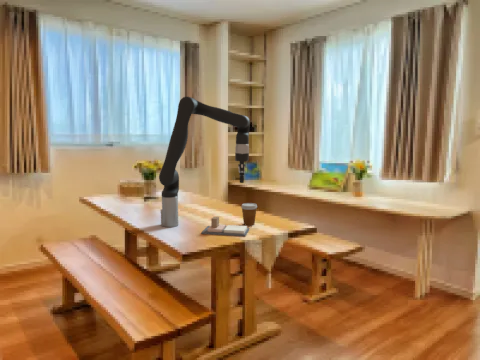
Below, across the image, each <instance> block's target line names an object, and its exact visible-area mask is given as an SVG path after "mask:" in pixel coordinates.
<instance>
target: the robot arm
mask: <svg viewBox="0 0 480 360" xmlns="http://www.w3.org/2000/svg"><path fill="white" fill-rule="evenodd" d="M192 115H198V116H203V117H206V118H208V119H209V118H210V119H212V120H214V121H215V122H219V123H222V124H226V125H230V126H233V127H235V128H237V133H236V135H235V147H234V149H235V150H234V153H235V155H234V160H235V162H239V163H238V165H237V166H238V167H237V168H238V173H239V184H244V183H245V173H246V164H245V162H249V160H250V146H249V143H250V141H249V140H250V137H249V135H250V127H251V122H250V118H249V116H246V115H243V114H240V113H236V112H232V111H230V110H226V109H224V108H221V107H220V108H219V107H216V106H213V105H209V104H205V103H203V102H201V101H199V100H197V99H196V98H194V97H191V96H183V97H182V98H181V99H180V100H179V103H178V106H177V112H176V118H175V122H174V124H173V129H172V132H171V136H170V139H169V143H168V147H167V151H166V153H165V157H164V158H165V159H164V162H163V164H162V167H161V170H160V172H159V174H158V179H159V183H160V184H161V185H162V186H163V190H162V191H161V209H160V226H161V227H165V228H174V227H177V226H179V189H180V176H179V175H180V174H179V172H178V170H176V168H177V164H178V163H179V161H180V159H181V157H182V156H183V153H184V151H185V149H186V146H187V143H188V140H189V139H188V137H189V136H188V135H189V124H190V123H189V122H190V120H191V116H192Z"/></svg>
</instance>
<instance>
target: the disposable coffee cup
mask: <svg viewBox="0 0 480 360" xmlns="http://www.w3.org/2000/svg"><path fill="white" fill-rule="evenodd" d="M257 208H258V205H257V203H253V202H245V203H242V204H241V210H242V211H241V212H242V220H243V226H247V227H248V226H249V227H250V226H252V227H253V226H254V225H255V223H256V215H257Z"/></svg>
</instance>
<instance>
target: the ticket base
mask: <svg viewBox="0 0 480 360" xmlns="http://www.w3.org/2000/svg"><path fill="white" fill-rule="evenodd" d="M210 226H211V225H208V226H206V227H205V228H204V229H203V230H202V231H201V232H200V233H201V235H212V236H213V235H214V236H217V235H218V236H229V237H230V236H231V237H232V236H233V237H246V236H247V235H248V233H249V231H250V228H249V227H248V226H247V225H237V224H236V225H235V224H228V225H226V227H225V228H224V229H223V232H208V228H209V227H210Z"/></svg>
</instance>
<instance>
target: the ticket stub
mask: <svg viewBox="0 0 480 360" xmlns="http://www.w3.org/2000/svg"><path fill="white" fill-rule="evenodd" d="M210 220H211V224H210V225H209V226H210V227H209V228H208V232H223V229H224V228H225V227H226V226H227V224H221V223H220V216H213V217H211V219H210Z"/></svg>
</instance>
